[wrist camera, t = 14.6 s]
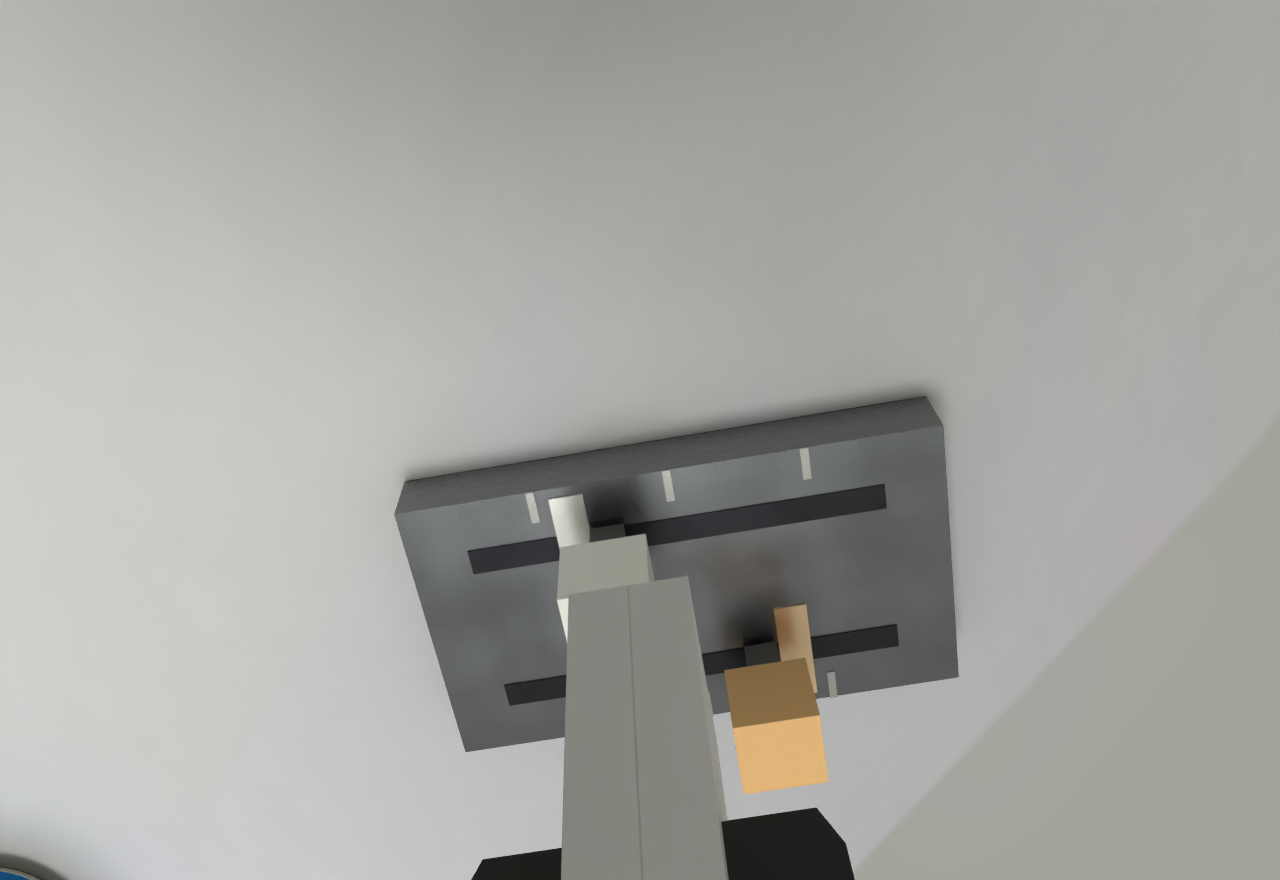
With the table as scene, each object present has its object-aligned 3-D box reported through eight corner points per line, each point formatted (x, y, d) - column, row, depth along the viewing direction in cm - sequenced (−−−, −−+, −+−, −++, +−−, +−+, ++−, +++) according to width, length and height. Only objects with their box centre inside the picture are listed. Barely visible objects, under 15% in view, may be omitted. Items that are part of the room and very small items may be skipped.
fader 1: (577, 583, 36) (574, 674, 32) (562, 515, 35) (556, 600, 31) (657, 571, 35) (663, 660, 32) (643, 501, 34) (648, 585, 30)
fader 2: (729, 695, 38) (744, 794, 34) (718, 634, 37) (733, 728, 33) (804, 684, 37) (828, 781, 34) (796, 622, 36) (819, 714, 32)
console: (471, 712, 40) (465, 753, 38) (404, 482, 36) (393, 515, 35) (942, 639, 40) (959, 678, 38) (926, 396, 36) (943, 426, 34)
